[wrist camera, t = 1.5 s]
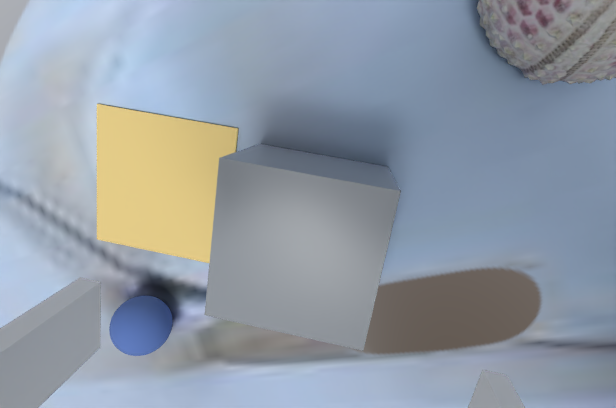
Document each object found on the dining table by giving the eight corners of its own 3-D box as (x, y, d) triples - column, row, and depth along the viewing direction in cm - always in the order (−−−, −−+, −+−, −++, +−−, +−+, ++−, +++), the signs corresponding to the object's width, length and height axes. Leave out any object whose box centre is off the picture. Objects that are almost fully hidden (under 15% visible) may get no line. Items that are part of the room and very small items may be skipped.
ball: (180, 338, 34) (152, 375, 30) (131, 326, 35) (95, 361, 30) (184, 291, 33) (154, 322, 28) (133, 280, 34) (95, 308, 29)
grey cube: (361, 284, 31) (363, 350, 22) (246, 260, 31) (204, 315, 23) (387, 166, 28) (400, 191, 19) (260, 143, 29) (219, 157, 20)
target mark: (224, 265, 32) (223, 266, 32) (98, 238, 33) (97, 239, 33) (238, 128, 29) (237, 128, 28) (98, 104, 30) (96, 104, 29)
